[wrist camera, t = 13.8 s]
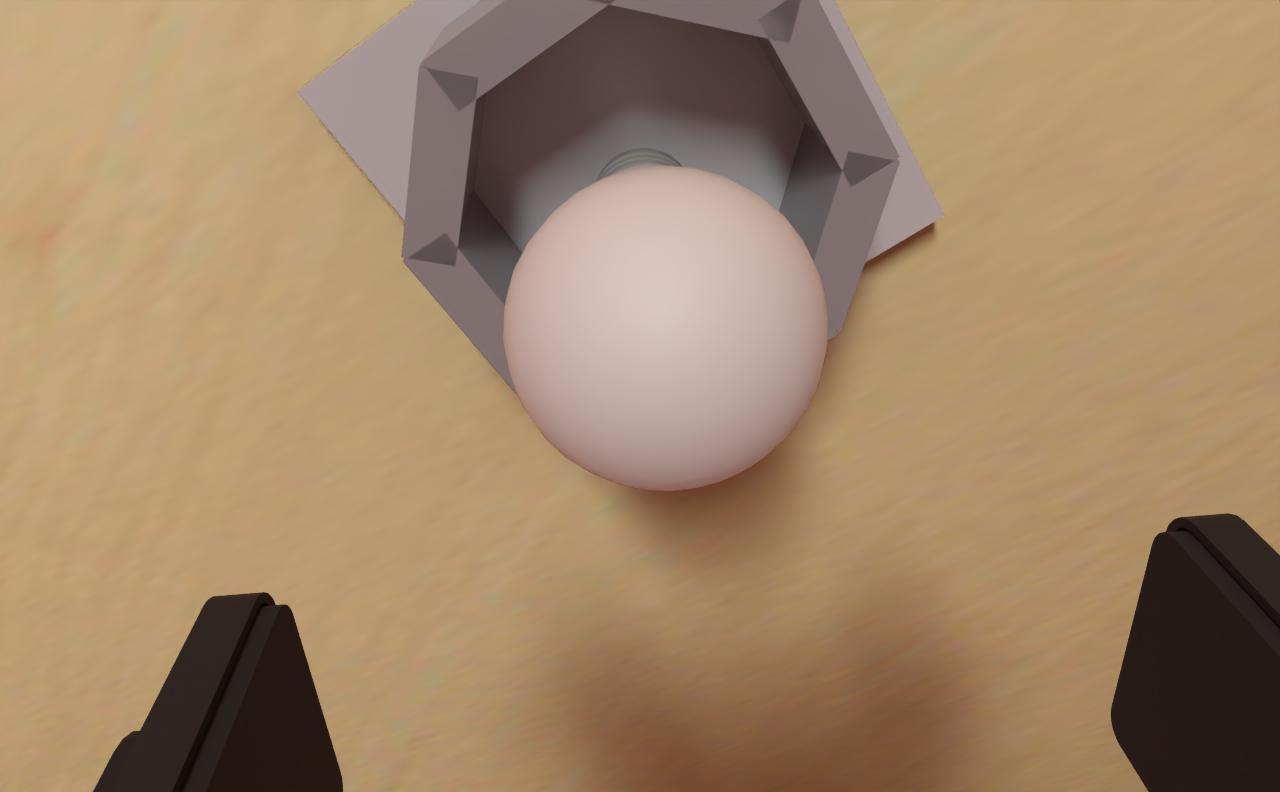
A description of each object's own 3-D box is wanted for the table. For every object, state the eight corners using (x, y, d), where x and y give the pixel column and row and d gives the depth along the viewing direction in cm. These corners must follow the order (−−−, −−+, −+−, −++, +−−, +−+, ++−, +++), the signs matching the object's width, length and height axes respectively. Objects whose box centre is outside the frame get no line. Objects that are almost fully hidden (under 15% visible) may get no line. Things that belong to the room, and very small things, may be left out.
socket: (580, 414, 30) (580, 513, 25) (307, 82, 24) (249, 137, 20) (932, 203, 27) (1001, 274, 23) (712, -226, 21) (747, -240, 17)
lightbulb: (711, 23, 23) (803, 182, 14) (787, 241, 26) (904, 491, 17) (481, 123, 24) (422, 335, 15) (581, 322, 27) (584, 601, 18)
